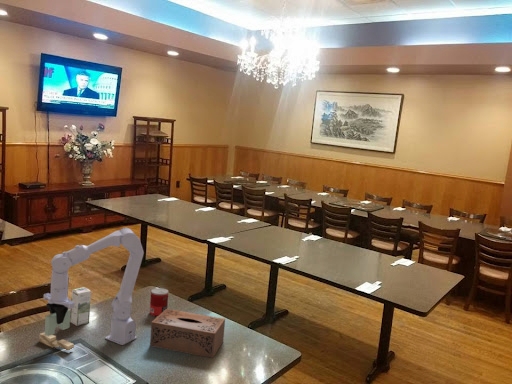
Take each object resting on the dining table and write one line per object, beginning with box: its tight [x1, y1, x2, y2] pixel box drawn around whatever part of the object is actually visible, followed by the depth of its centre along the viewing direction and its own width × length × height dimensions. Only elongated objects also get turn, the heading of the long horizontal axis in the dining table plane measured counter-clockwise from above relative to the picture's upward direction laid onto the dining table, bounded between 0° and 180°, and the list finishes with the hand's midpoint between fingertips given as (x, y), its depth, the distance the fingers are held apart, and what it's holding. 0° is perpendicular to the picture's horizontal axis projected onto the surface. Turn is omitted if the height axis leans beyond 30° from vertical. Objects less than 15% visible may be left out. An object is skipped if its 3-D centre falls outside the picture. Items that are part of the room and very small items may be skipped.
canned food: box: [149, 287, 169, 318], centre depth 195 cm, size 8×8×11 cm
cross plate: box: [44, 309, 71, 336], centre depth 157 cm, size 9×2×7 cm, turn 152°
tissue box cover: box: [149, 308, 226, 359], centre depth 169 cm, size 26×14×10 cm, turn 79°
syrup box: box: [70, 286, 92, 327], centre depth 178 cm, size 6×6×14 cm
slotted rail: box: [38, 331, 75, 350], centre depth 157 cm, size 16×2×3 cm, turn 62°
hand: (57, 322), depth 157 cm, fingers closed on cross plate, 2 cm apart
